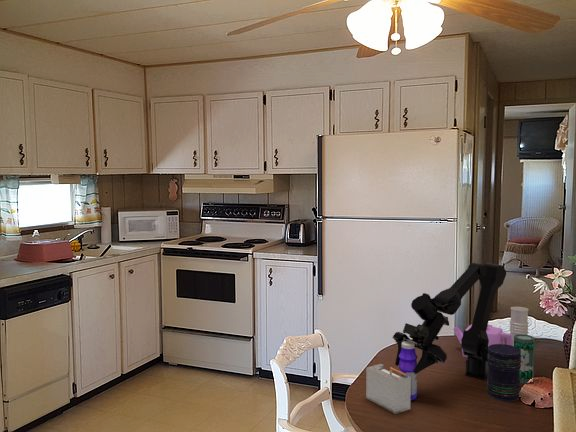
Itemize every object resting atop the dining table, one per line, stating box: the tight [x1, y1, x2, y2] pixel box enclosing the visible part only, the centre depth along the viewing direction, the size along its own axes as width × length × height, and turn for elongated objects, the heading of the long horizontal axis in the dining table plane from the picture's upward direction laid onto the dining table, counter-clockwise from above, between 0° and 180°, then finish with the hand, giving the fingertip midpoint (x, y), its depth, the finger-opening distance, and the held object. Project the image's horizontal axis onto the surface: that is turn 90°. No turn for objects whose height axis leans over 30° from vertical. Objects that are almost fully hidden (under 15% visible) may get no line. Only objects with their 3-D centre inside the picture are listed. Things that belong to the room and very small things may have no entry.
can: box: [514, 334, 536, 385], centre depth 182 cm, size 6×6×15 cm
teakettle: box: [452, 323, 513, 359], centre depth 207 cm, size 17×17×12 cm
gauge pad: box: [381, 367, 406, 378], centre depth 165 cm, size 2×11×10 cm, turn 32°
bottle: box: [398, 341, 418, 401], centre depth 170 cm, size 7×6×17 cm
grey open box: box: [365, 363, 411, 415], centre depth 165 cm, size 6×13×10 cm, turn 33°
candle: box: [509, 306, 530, 346], centre depth 218 cm, size 7×7×15 cm
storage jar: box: [486, 343, 521, 402], centre depth 171 cm, size 10×10×15 cm
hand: (405, 369), depth 169 cm, fingers open, 8 cm apart
